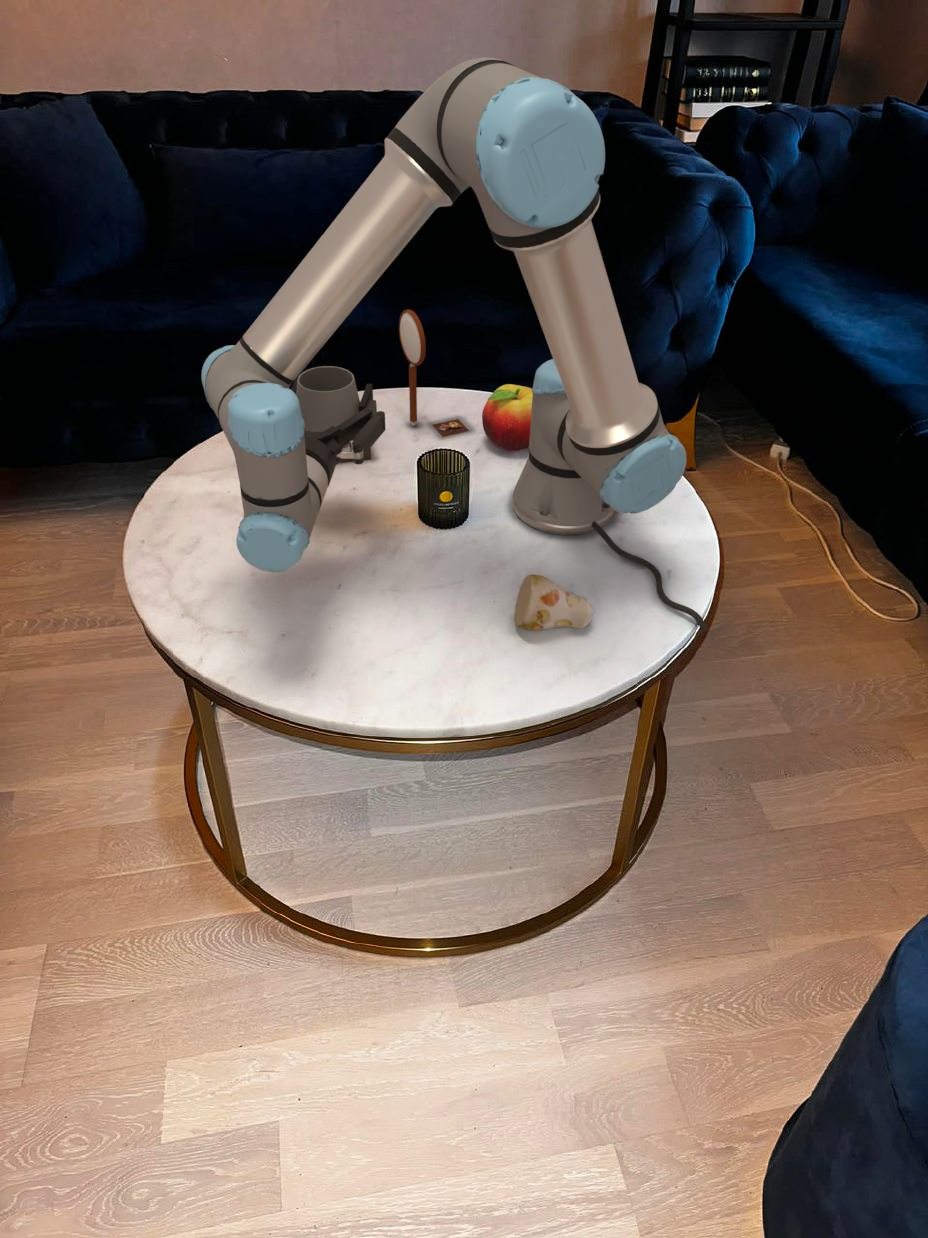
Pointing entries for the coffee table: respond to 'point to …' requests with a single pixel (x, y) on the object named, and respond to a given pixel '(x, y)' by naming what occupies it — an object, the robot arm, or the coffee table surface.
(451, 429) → the picture card
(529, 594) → the beige spotted lump
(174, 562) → the coffee table surface
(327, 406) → the cup
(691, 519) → the coffee table surface
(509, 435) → the fruit
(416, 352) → the magnifying glass
